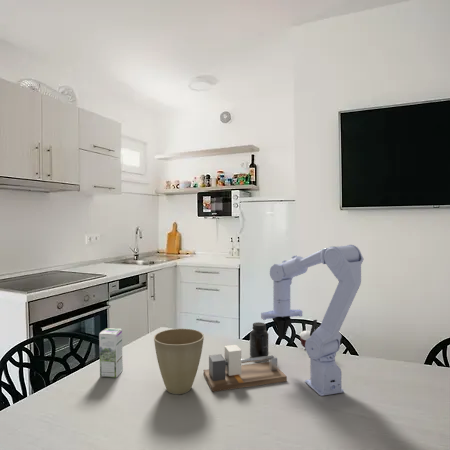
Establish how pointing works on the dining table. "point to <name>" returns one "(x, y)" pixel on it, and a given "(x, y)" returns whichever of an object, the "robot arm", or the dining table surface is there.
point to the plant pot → (178, 357)
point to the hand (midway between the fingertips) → (281, 338)
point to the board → (247, 377)
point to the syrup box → (110, 352)
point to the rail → (271, 359)
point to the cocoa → (307, 333)
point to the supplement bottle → (258, 340)
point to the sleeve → (233, 360)
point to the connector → (217, 367)
